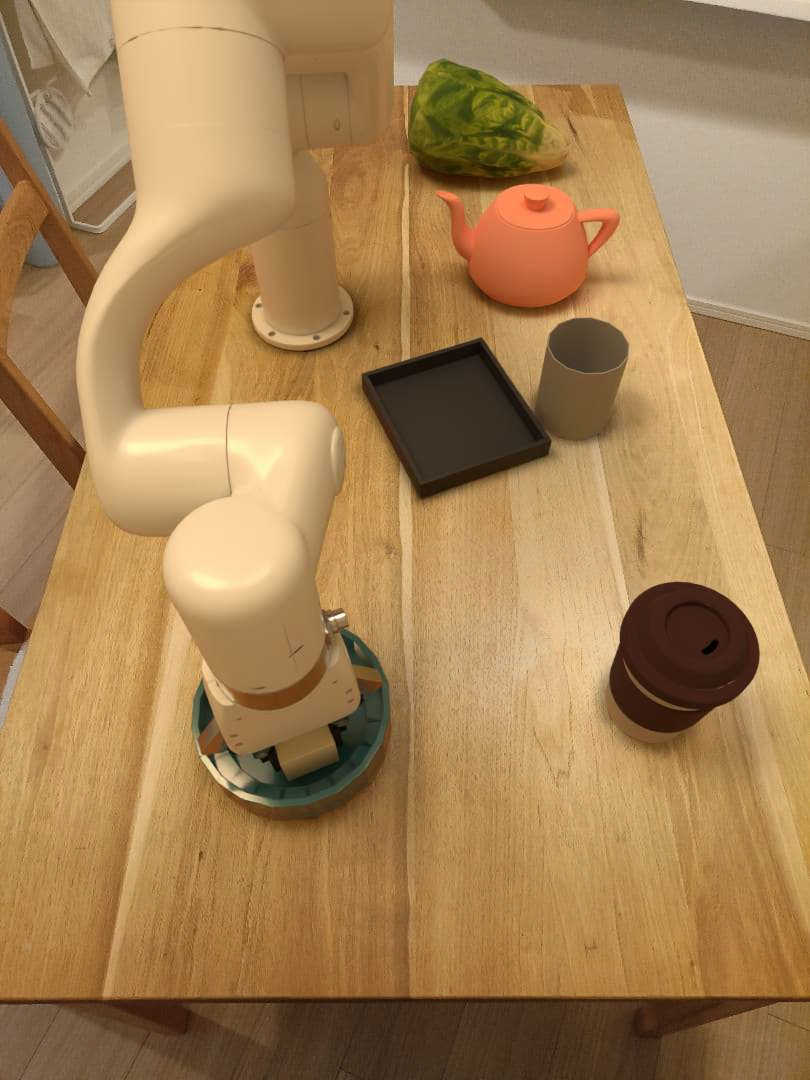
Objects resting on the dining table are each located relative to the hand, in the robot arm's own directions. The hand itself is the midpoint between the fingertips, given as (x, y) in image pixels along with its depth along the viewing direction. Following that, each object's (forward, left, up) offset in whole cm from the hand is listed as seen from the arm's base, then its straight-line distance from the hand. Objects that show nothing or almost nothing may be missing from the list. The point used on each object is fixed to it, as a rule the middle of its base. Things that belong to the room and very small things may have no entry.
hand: (303, 741), depth 64 cm
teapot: (-49, +45, -3) cm, 66 cm away
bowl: (-3, 0, -3) cm, 4 cm away
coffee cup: (+7, +29, -3) cm, 30 cm away
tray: (-30, +27, -3) cm, 40 cm away
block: (0, 0, -1) cm, 1 cm away
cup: (-26, +40, -3) cm, 48 cm away
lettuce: (-73, +52, -3) cm, 89 cm away
